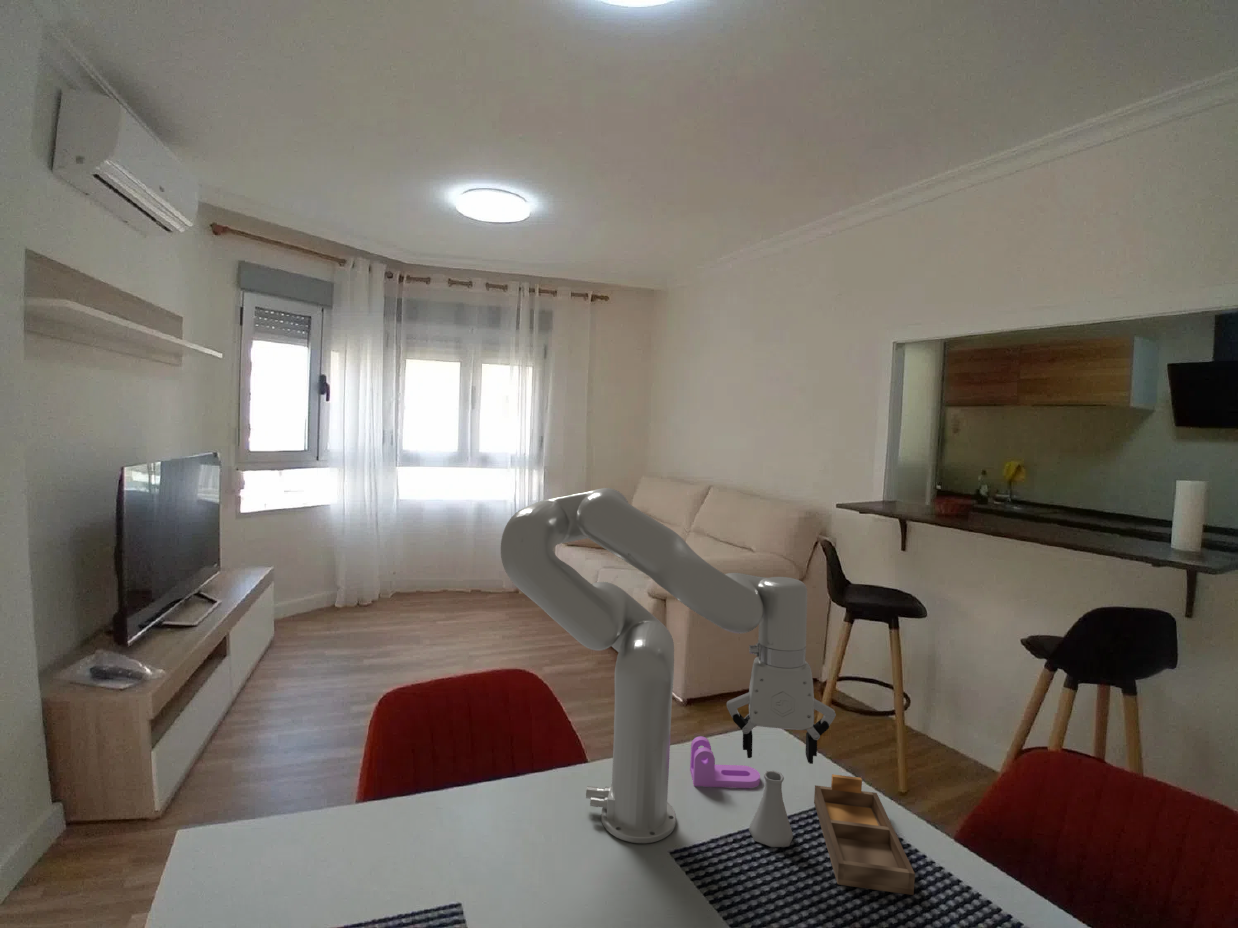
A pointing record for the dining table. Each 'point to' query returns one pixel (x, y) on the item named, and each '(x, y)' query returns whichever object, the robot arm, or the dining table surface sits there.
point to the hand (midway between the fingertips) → (778, 756)
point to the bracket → (718, 769)
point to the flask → (772, 815)
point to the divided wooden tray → (861, 838)
